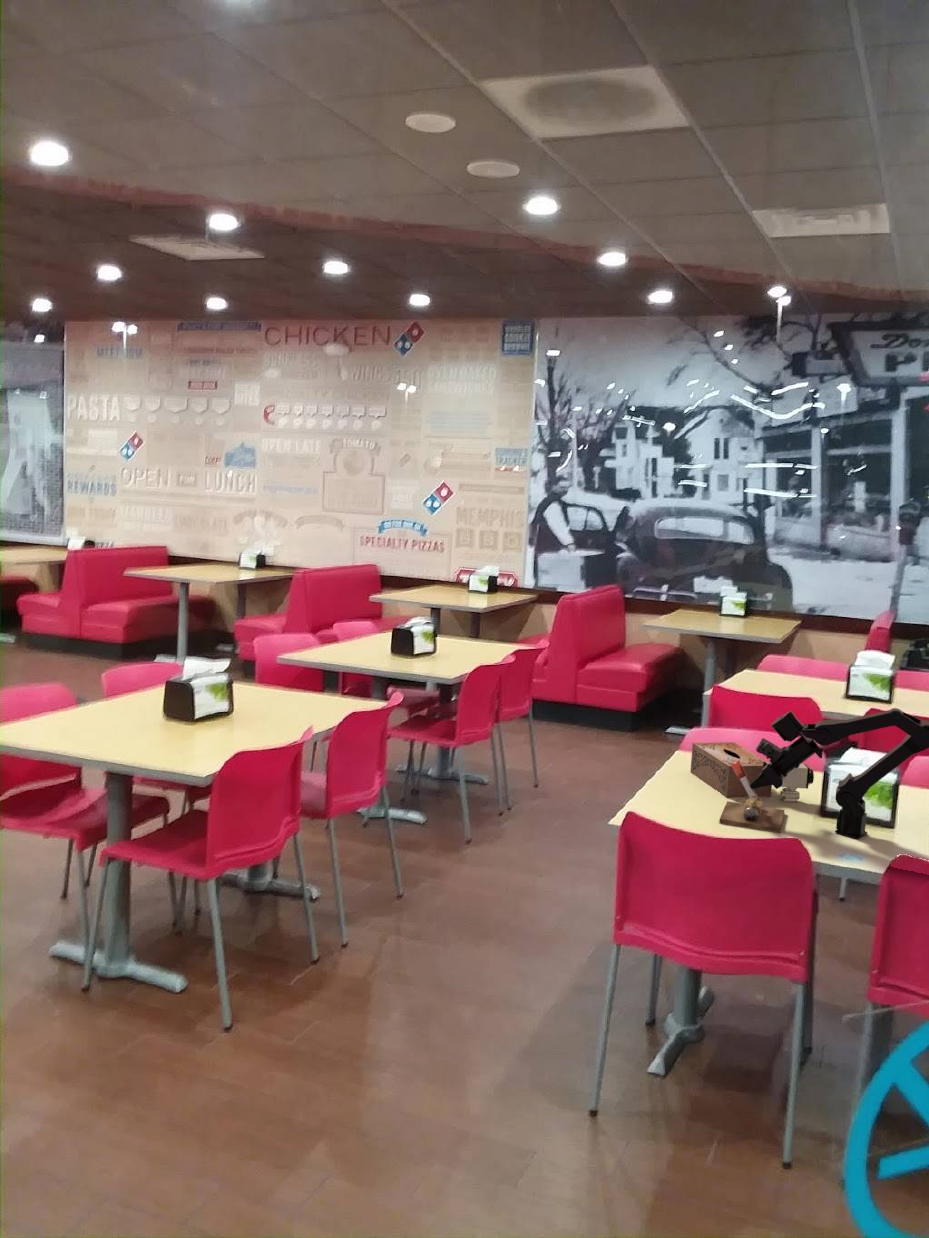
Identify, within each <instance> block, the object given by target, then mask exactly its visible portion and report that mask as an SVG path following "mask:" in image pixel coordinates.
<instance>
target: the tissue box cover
mask: <svg viewBox="0 0 929 1238" xmlns="http://www.w3.org/2000/svg"><path fill="white" fill-rule="evenodd" d="M738 760H739V761H740V763H741V764H742V766H743V768H744V770H745V772H746V774H747V775H746V777H747V779H748V781H749V782H750V784H751V783H752V782H753V781H754V780H755V779H756V778H757V776H758V775H759V774H760V773H761V772H762V766H763V763H764V761H765V762H766V763H768V762H769V761H767V760H765V759H764V758H763V757H761V756H758V755H757V754H755V753H753V752H752V751H750V750H748V749H747V748H745V747H743V746H741V745H740V744H738V743H736V742H735V741H734V742H730V741H728V742H727V741H726V742H722V741H721V742H692V747H691V759H690V771H689V772H690V773H691V774H692V775H693V776H695V777H696V778H698V779H699V780H701V781H702V782H704V783H705V784H706V785H708V787H710V786H711V787H710V788H712V789H713V790H715V791H716V790H717V791H718V792H717V791H716V792H717V793H719V792H720V793H721V796H723V795H724V796H725V797H724V796H723V797H724V798H726V799H729V798H730V799H731V798H732V799H735V798H736V799H737V797H738V798H739V799H740V798H750V797H749V795H748V793H747V792H746V790H745V788H744V786H743V784H742V782H741V780H740V779H738V777H737V775H736V773H735V771H734V769H733V768H732V766H731V764H732V763H733V762H735V761H738ZM772 789H773V785H769V786H764V787H759V788H754V789H753V790H754V792H755V794H757V797H759V798H768V797H772ZM720 793H719V794H720Z"/></svg>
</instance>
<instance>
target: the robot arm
mask: <svg viewBox="0 0 929 1238" xmlns="http://www.w3.org/2000/svg"><path fill="white" fill-rule="evenodd" d="M770 726H771V728H772V729H773V730H774V731H775V732H776V733H777V734H778V736H779V737H780V738H781V739H782V741H784V742H786V741H787V742H790V744H789V745H787V746H786V745H785V746H782V747H779V746H778V745H777V744H774V743H773V742H771V741H770V740H768V739H766V738H761V740H760V741H759V743H758V745H757V746H756V749H755V751H756V752H757V753H758V754H761V755H763V756H765V757H766V759H767V760H769V761H767V762H768V763H766V762H765V761H766V760H765V761H764V763H763V766H762V772H761V773H760V774H759V775H758V776H757V778H756V779H755V780H754V781H753V782H752V783H751V785H750V787H751V788H752V789H754V788H759V787H764V786H769V785H772V787H774V788H775V790H778V789H780V788H782V787H781V786H782V784H783V778H784V777H786V776H787V774H788V773H789V772H790V771H792V770H793V769H794V768H796V769H797V768H798V767H799V766H800V764H804V762H805V761H807V760H808V759H810V758H811V757H813V755H815V754H816V756H818V758H819V759H822V758H823V756H824V755H823V753H824V750H825V746H830V745H832V744H834V743H837V742H839V741H841V740H843V739H845V738H846V737H849V736H853V735H857V734H862V733H867V732H871V731H875V730H880V729H884V728H888V727H896V728H898V729H900V730H901V731H902V732H904V733H906V736H905V737H904V738H903V739H902V741H901V742H900V743H899V744H898V745H896V746H895V747H893V748H892V749H891V750H889V751H888V752H887V753H885V755H883V756H881V758H879V759H878V760H877V761H876V762H874V763H873V764H872V765H870V767H868V768H866V769H865V770H864V771H863V772H861V773H860V774H858V775H855V776H853V775H852V773H848V774H847V775H846V776H845V778H843V779H841V780H839V781H838V785H837V787H836V789H835V801H836V803H837V805H838V806H839V807H840V809H839V813H838V814H837V816H836V824H835V825H836V826H835V828H836V830H834V833H835V834H839V835H842V836H845V837H849V838H853V839H857V840H859V839H861V838H863V837H865V836H866V835H868V832H867V831H866V825H867V816H868V813H867V812H866V800H864V799H863V798H865V797H864V796H865V795H866V793H868V791H869V790H870V788H872V787H873V786H875V784H877V783H878V782H879V781H880V780H882V779H884V777H886V776H887V775H888V774H890V773H891V772H892V771H894V770H895V769H896V768H898V766H900V765H901V764H902V763H904V762H905V761H906V760H908V759H909V758H910V757H912V756H913V755H916V754H918V753H921V752H924V751H926V750H928V749H929V720H924V719H923V720H921V719H919V718H918V717H916V716H913V715H911V714H909V713H907V712H905V711H903V710H901V709H900V708H897V707H893V708H891V709H888V710H884V711H880V712H876V713H871V714H867V715H862V716H858V717H854V718H848V719H825V720H819V721H818V722H816V723H802V722H801V721H800V720H799V719H798V718H797V716H796V715H795V713H794V712H793V711H792V710H789V711H788V712H786V713H784V714H783V715H780V716H779V717H777V718H776V719H775V720H774V721H773V722H772V723H771V724H770ZM799 736H800V737H799ZM791 742H792V743H791ZM781 774H782V775H783V776H782V775H781Z"/></svg>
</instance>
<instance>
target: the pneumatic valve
mask: <svg viewBox="0 0 929 1238" xmlns="http://www.w3.org/2000/svg"><path fill="white" fill-rule="evenodd" d="M781 775H782V774H781ZM782 776H783V775H782ZM814 779H815V773H814V769H812V768H810V767H809V766H808V765H807V764H806V763H801V764H800V766H799V767H798V768H797V769H796V768H794V769H793V770H792V771H790V772H789V773H788V774H787V776H786V777H784V778H783V784H782V786H781V787H780V788H782V789H781V790H780V792H779V797H780V799H783V801H784V803H797V802H798V800H800V798H801V795H800V794H801V793H800V791H797V789H806V790H807V789H809V786H810V785H812V784H814V781H815V780H814Z"/></svg>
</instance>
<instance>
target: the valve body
mask: <svg viewBox="0 0 929 1238" xmlns="http://www.w3.org/2000/svg"><path fill="white" fill-rule="evenodd" d="M756 795H757V794H756ZM744 804H745V805H744V814H743V816H744V819H745V820H749V821H757V819H758V818H760V816H761V813H762V806H763V800H762V799H761V797H758V799H757V801H756V798H754V797H751V800H750V797H748V799H745V802H744Z"/></svg>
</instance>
